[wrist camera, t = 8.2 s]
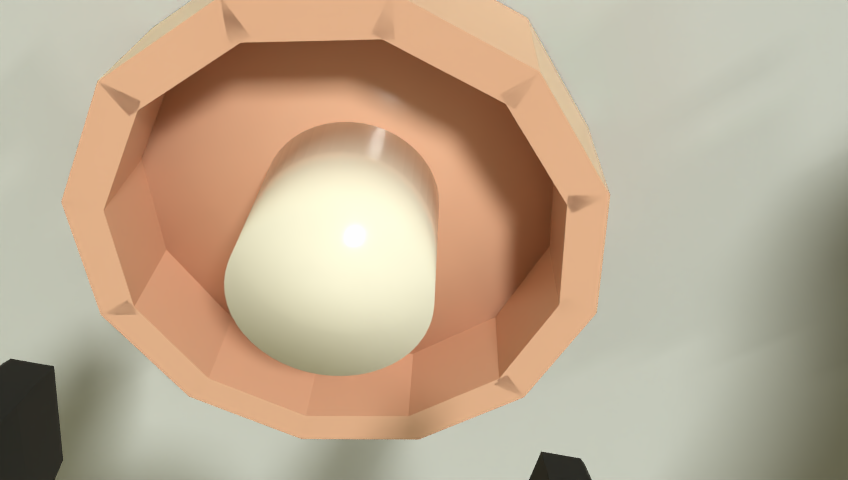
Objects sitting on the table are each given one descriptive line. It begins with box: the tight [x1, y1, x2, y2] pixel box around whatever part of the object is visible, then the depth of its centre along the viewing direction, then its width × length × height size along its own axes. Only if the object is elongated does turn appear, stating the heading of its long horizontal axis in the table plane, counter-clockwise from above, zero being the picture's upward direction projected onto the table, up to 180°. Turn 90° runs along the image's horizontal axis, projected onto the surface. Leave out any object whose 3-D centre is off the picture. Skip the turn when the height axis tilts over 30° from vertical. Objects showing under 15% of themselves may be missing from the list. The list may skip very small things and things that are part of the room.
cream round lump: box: [224, 122, 439, 376], centre depth 16 cm, size 4×4×4 cm
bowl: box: [61, 0, 610, 439], centre depth 17 cm, size 11×11×3 cm
